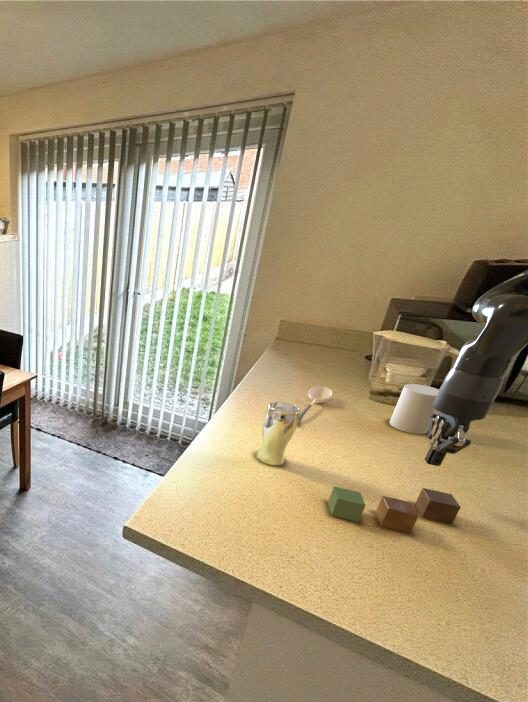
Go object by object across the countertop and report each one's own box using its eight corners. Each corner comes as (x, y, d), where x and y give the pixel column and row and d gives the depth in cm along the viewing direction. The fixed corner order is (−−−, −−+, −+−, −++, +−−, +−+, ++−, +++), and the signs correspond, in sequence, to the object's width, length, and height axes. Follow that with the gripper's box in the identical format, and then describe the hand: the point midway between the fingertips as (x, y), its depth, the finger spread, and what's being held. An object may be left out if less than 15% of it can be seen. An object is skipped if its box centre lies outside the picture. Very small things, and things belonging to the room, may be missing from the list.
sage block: (353, 509, 84) (360, 492, 82) (358, 522, 80) (365, 505, 78) (327, 502, 86) (333, 486, 84) (331, 515, 82) (337, 498, 80)
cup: (433, 435, 110) (451, 397, 105) (397, 431, 113) (413, 393, 108) (418, 422, 117) (434, 386, 112) (384, 418, 120) (398, 382, 115)
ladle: (333, 397, 132) (337, 385, 129) (303, 438, 117) (307, 426, 115) (312, 391, 136) (315, 379, 134) (280, 430, 121) (283, 418, 119)
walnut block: (442, 511, 83) (451, 494, 81) (451, 524, 79) (461, 507, 77) (414, 504, 85) (422, 487, 83) (421, 517, 81) (430, 500, 79)
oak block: (403, 519, 81) (411, 502, 79) (410, 533, 77) (419, 516, 75) (375, 512, 83) (382, 495, 81) (380, 526, 79) (388, 508, 77)
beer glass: (271, 450, 105) (285, 399, 99) (292, 464, 99) (308, 412, 93) (248, 452, 104) (261, 402, 98) (268, 468, 98) (283, 415, 92)
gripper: (512, 409, 71) (468, 485, 78) (478, 383, 82) (443, 452, 89) (455, 400, 75) (419, 474, 82) (430, 377, 85) (400, 444, 92)
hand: (431, 463), depth 85 cm, fingers closed
